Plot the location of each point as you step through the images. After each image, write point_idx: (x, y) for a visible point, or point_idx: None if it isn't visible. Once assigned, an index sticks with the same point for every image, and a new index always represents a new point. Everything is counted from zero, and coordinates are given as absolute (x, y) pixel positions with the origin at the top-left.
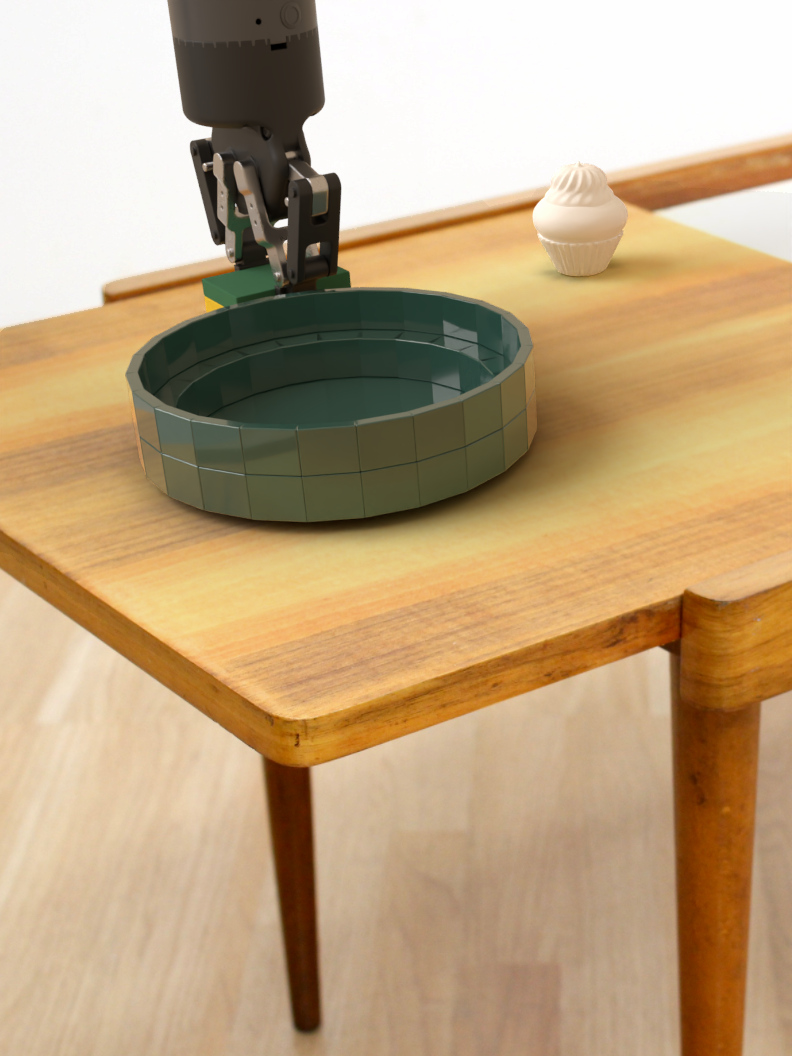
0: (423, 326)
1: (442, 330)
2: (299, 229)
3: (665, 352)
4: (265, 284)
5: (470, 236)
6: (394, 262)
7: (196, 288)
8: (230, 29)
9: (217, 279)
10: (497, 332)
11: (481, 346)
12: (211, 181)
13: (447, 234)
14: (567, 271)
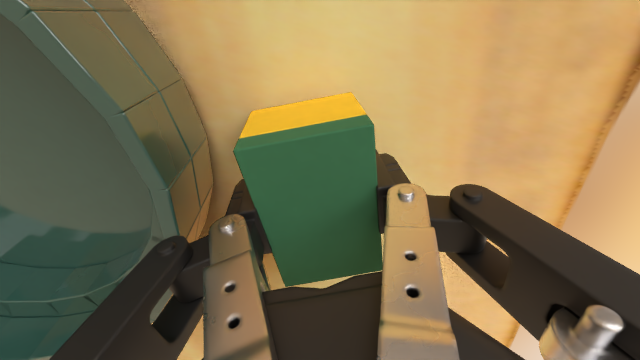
0: None
1: None
2: (61, 347)
3: (184, 355)
4: (282, 201)
5: (485, 332)
6: (479, 288)
7: (588, 131)
8: None
9: (350, 146)
10: (51, 336)
11: (93, 309)
12: (559, 286)
13: (503, 324)
14: None
